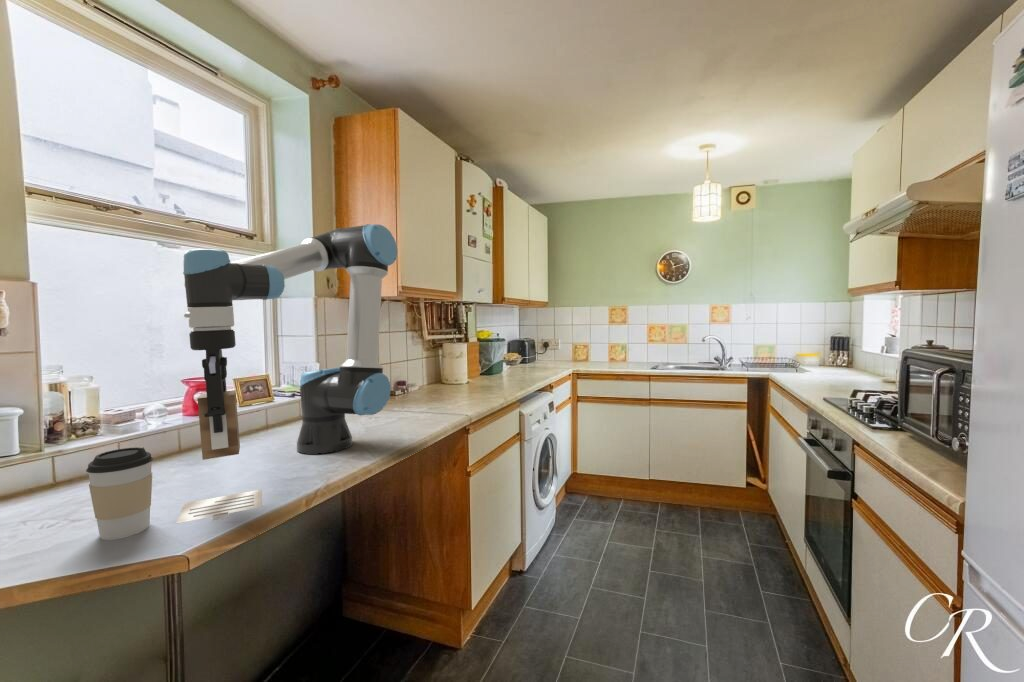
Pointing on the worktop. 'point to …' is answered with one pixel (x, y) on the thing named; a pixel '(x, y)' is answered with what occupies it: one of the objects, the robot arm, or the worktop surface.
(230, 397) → the walnut block
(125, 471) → the coffee cup
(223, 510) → the cream flat slotted plate
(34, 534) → the worktop surface
